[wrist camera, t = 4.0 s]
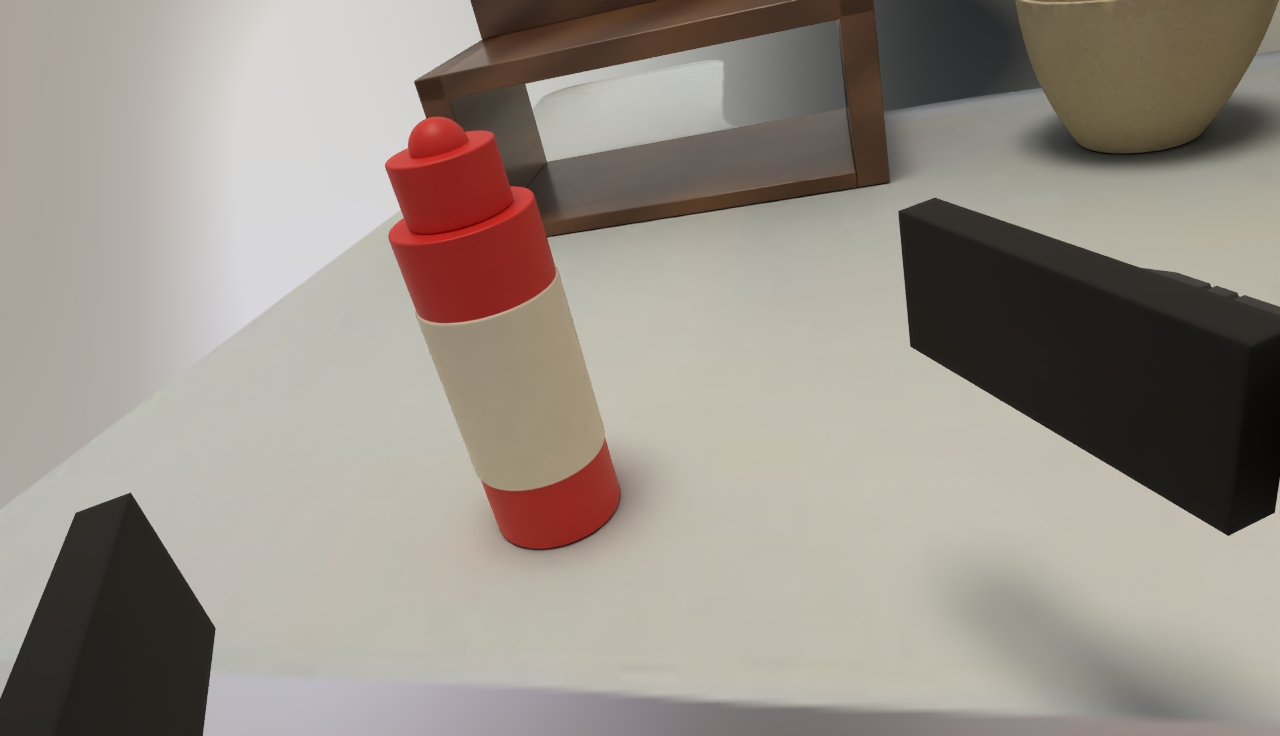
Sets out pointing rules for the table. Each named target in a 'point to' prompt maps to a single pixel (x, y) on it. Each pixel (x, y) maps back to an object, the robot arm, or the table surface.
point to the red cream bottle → (501, 335)
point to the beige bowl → (1140, 65)
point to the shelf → (674, 169)
